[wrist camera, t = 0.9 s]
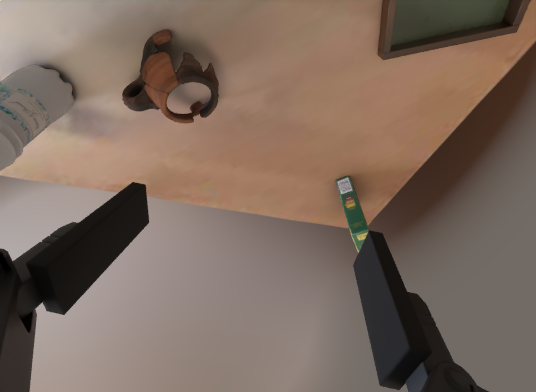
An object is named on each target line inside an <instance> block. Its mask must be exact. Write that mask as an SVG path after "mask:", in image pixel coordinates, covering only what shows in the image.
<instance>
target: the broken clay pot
mask: <svg viewBox="0 0 536 392" xmlns="http://www.w3.org/2000/svg"><path fill="white" fill-rule="evenodd" d="M169 41H172V37H171V35H170V33H169V31H168V30H163V31H160V32H157V33H156V34H154V35H153V36H152V37H150V38H149V39H148V41H147V42H146V43H145V46H144V49H143V58H142V62H141V69H140V76H139V77H138V78H137V79H136V80H135V81H133V82H132V83H130V84H129V85H128V86H127V87H126V88H125V89H124V91H123V93H122V97H123V101H124V104H125V105H126V106H128V108H129V109H131V110H134V111H144V110H147V109H157V110H158V109H159V108H160V109H161V111H162V113H163V114H164V115H165V116H166V117H167V118H169V119H171V120H173V121H175V122H179V123H192V122H194V119H193V117H194V116H197V115H199V114H200V116H201V117H202V118H203V117H207V116H208V115H210V114H211V113H212V111H213V110H214V109H215V108H216V106H217V103H218V97H219V94H218V86H219V83H218V80H217V78H216V75H215V72H214V68H213V65H212V63H209V66H208V68H207V69H206V70H205V71H204V72H203V70H202V66H201V65H200V63H199V62H198V61H197V60H196V59H195V58H194V56H193V55H192V54H190V53H187V52H183V61H182V62H181V65H180V67H179V69H178V70H177V72H175V70H174V67H173V65H172V62H171V57H170V55H168V54H167V53H166V52H161V53H160V52H159V50H158V49H157V46H158V45H161V44H163V43H166V42H169ZM188 82H198V83H202V84H204V85H206V86H207V87H209V89H210V90H211V99H210V100H209V101H208V102H207V103H205V104H204V105H203V104H202V103H200V102H196V103H194V104H193V105H192V106H191V107H190V110H191V111H192V113H188V114H177V113H174V112H172V111H170V110H169V109H168V107H167V104H166V102H167V98H168V96H169V93H171V91H172V90H173V89H175V88H176V87H177V86H179V85H180V84H184V83H188Z"/></svg>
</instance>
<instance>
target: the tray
mask: <svg viewBox="0 0 536 392" xmlns="http://www.w3.org/2000/svg"><path fill="white" fill-rule="evenodd" d="M529 2H530V0H383V7H382V17H381V27H380V38H379V49H378V56H379V57H380V58H381V59H382V60H386V59H391V58H395V57H400V56H405V55H410V54H415V53H419V52H424V51H429V50H434V49H439V48H443V47H448V46H453V45H458V44H463V43H467V42H472V41H477V40H482V39H486V38H491V37H496V36H501V35H506V34H510V33H515V32H517V30H518V28H519V26H520V25H519V24H521V21H522V19H523V17H524V14H525V12H526V10H527V7H528V5H529ZM508 3H509V4H508ZM505 11H506V12H505ZM500 22H501V23H500ZM495 23H496V24H495ZM490 24H491V25H490ZM486 25H487V26H486ZM481 26H482V27H481ZM476 27H477V28H476ZM472 28H473V29H472ZM467 29H468V30H467ZM462 30H463V31H462ZM458 31H459V32H458ZM453 32H454V33H453ZM448 33H449V34H448ZM444 34H445V35H444ZM439 35H440V36H439ZM434 36H435V37H434ZM430 37H431V38H430ZM425 38H426V39H425ZM420 39H421V40H420ZM416 40H417V41H416ZM411 41H412V42H411ZM406 42H407V43H406ZM402 43H403V44H402ZM397 44H398V45H397ZM392 45H393V46H392Z"/></svg>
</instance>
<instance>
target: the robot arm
mask: <svg viewBox="0 0 536 392" xmlns="http://www.w3.org/2000/svg"><path fill="white" fill-rule="evenodd" d="M148 223H149V216H148V205H147V195H146V185H144V184H140V183H135V182H132V183H131V184H130V185H128V186H127V187H126V188H124V189H123V190H122V191H120V192H119V193H118V194H117V195H115V196H114V197H113V198H111V199H110V200H109V201H107V202H106V203H105V204H104V205H102V206H101V207H99V208H98V209H97V210H95V211H94V212H93V213H91V214H90V215H89V216H87V217H86V218H85V219H83V220H82V221H81V222H79V223H76V222H72V223H70V224H67V225H65V226H63V227H61V228H59V229H58V230H56V231H55V232H53V233H52V234H51V235H50V236H48V237H46V238H45V239H44V240H42V242H39V243H38V244H37V245H35V246H34V247H32V248H31V249H30V250H28V251H27V252H25V253H24V254H23V255H21V256H20V257H18V258H17V259H16V260H14V261H13V262H12V259H11V257H10V255H9V253H8V251H6V250H4V249H0V392H29V390H30V380H31V370H32V369H31V368H32V359H33V349H34V348H33V347H34V338H35V328H36V317H37V314H36V310H35V308H37V307H38V306H39V305H40V304H41V303H42V302H43V304H44V306H45V308H46V311H49V312H54V313H58V314H62V315H65V313H66V312H67V311H68V310H69V309H70V308H71V307H72V306H73V305H74V304H75V303H76V301H77V300H78V299H79V298H80V297H81V296H82V295H83V294H84V293H85V292H86V291H87V290H88V289H89V287H90V286H91V285H92V284H93V283H94V282H95V281H96V280H97V279H98V278H99V276H100V275H101V274H102V273H103V272H104V271H105V270H106V269H107V268H108V267H109V266H110V264H111V263H112V262H113V261H114V260H115V259H116V258H117V257H118V256H119V255H120V253H122V252H123V250H124V249H125V248H126V247H127V246H128V245H129V244H130V243H131V242H132V241H133V239H134V238H135V237H136V236H137V235H138V234H139V233H140V232H141V231H142V230H143V229H144V227H145V226H146V225H147V224H148ZM353 266H354V271H355V276H356V280H357V285H358V289H359V293H360V298H361V302H362V307H363V312H364V316H365V321H366V325H367V330H368V334H369V339H370V343H371V348H372V352H373V357H374V361H375V366H376V370H377V375H378V379H379V384H380V386H383V387H388V388H393V389H397V390H400V389H401V387H402V386H403V385H404V384H405V383H406V385H407V388H408V392H488V391H486V390H484V389H482V388H481V387H479V386H477V385H476V383H475V381H474V380H473V379H472V377H471V376H470V375H469V374H468V373H467V372H466V371H465V370H464V369H463V368H462V367H461V366H459V365H457V364H456V363H454V361H453V359H452V357H451V355H450V353H449V351H448V349H447V347H446V345H445V343H444V340H443V338H442V336H441V334H440V332H439V330H438V328H437V327H436V324H435V321H434V319H433V318H432V317H431V313H430V311H429V309H428V307H427V305H426V303H425V302H424V301H423V300H422V299H421V298H420V297H419V295H418V294H415V293H410V292H407V291H406V288H405V286H404V283H403V281H402V279H401V276H400V274H399V271H398V270H397V267H396V264H395V262H394V260H393V257H392V255H391V253H390V250H389V248H388V246H387V243H386V241H385V238H384V236H383V234H382V233H379V232H374V231H370V230H369V231H368V233H367V236H366V238H365V240H364V242H363V245H362V247H361V249H360V251H359V253H358V256H357V258H356V260H355V262H354V265H353Z"/></svg>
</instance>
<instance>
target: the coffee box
mask: <svg viewBox="0 0 536 392" xmlns="http://www.w3.org/2000/svg"><path fill="white" fill-rule="evenodd" d="M336 183H337V187H338V191H339V194H340V197H341V201H342V204H343V208H344V211H345V215H346V218H347V222H348V225H349V229H350V233H351V236H352V238H353V241H354V243H355V245H356V248H357V250H358V252H359V251H360V249H361V247H362V245H363V242H364V240H365V238H366V236H367V233H368V231H369V229H368V226H367V223H366V220H365V217H364V214H363V212H362V209H361V206H360V203H359V200H358V198H357V195H356V192H355V190H354V187H353V184H352V182H351V179H350V177H349V176H347V177H344V178H341V179H338V180H336Z"/></svg>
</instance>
